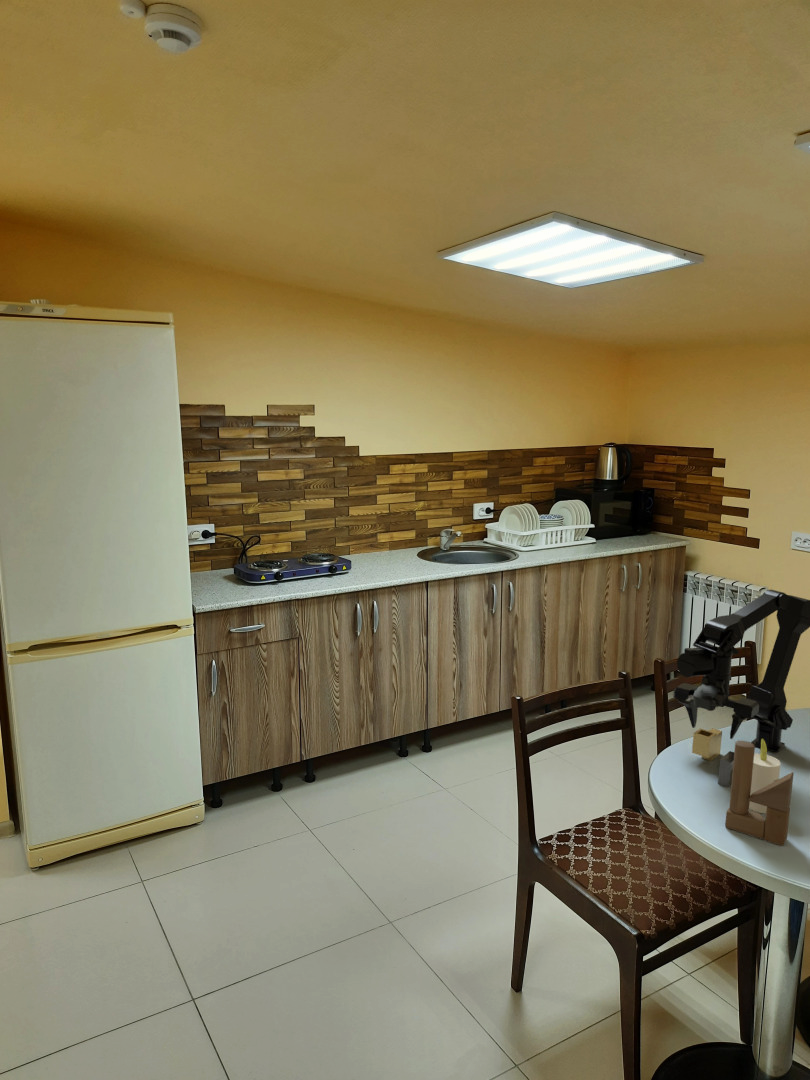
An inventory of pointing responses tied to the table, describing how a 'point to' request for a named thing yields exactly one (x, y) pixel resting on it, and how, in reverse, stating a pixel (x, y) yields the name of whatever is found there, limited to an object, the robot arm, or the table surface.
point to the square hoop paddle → (707, 743)
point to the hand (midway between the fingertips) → (712, 732)
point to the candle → (763, 774)
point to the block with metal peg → (726, 769)
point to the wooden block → (758, 800)
